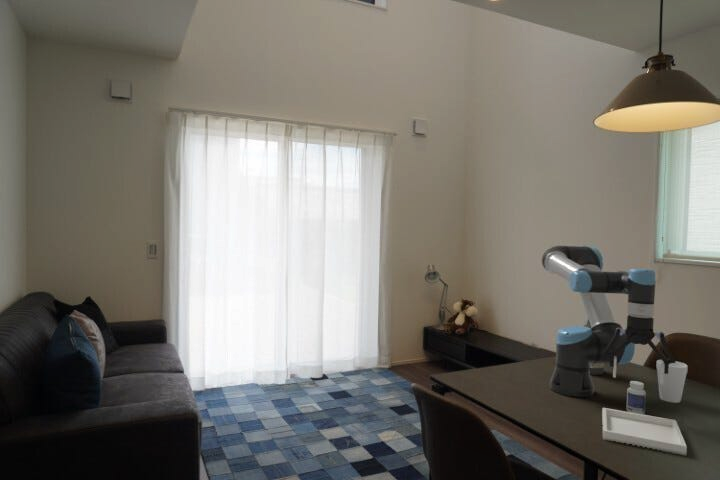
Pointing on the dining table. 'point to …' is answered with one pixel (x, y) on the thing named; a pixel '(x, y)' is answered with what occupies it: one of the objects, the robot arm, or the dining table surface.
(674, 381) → the foam cup
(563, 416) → the dining table surface
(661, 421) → the tray
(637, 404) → the pill bottle
